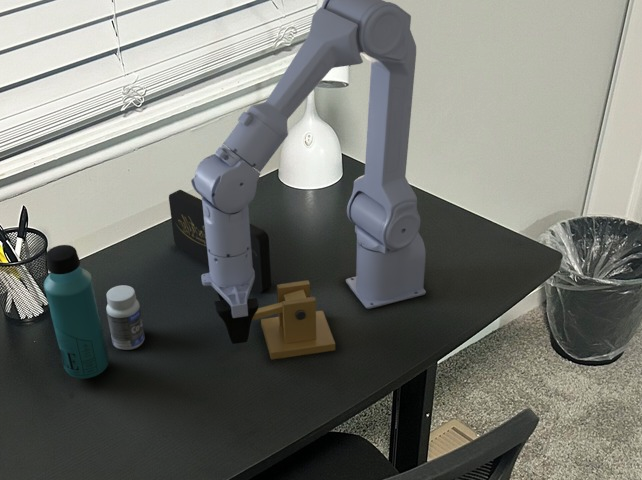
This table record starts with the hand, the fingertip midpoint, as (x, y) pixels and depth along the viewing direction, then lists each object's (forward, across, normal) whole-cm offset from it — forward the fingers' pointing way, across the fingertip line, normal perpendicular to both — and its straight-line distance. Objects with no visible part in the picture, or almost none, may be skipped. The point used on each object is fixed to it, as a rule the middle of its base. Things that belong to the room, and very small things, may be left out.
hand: (236, 329), depth 127 cm
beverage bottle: (+3, +1, -21) cm, 21 cm away
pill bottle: (+3, -5, -15) cm, 16 cm away
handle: (-1, 0, +5) cm, 5 cm away
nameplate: (+3, -21, 0) cm, 21 cm away
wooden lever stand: (+3, 0, +8) cm, 9 cm away
